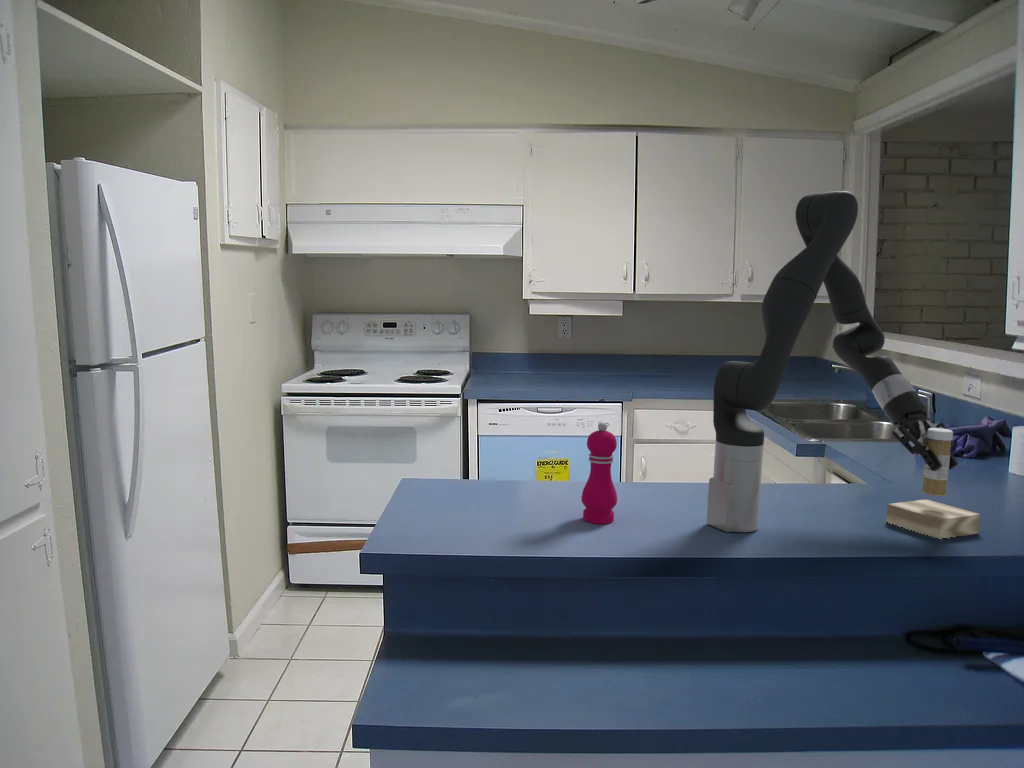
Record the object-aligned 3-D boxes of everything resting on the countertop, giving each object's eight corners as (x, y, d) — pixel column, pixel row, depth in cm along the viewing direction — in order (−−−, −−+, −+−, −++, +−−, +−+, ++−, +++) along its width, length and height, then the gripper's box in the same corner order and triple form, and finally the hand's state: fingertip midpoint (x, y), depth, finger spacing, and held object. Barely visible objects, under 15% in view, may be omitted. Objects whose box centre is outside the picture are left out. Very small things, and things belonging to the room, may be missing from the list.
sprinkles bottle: (916, 490, 160) (922, 427, 158) (937, 490, 160) (943, 427, 159) (930, 496, 155) (937, 431, 154) (951, 496, 156) (958, 431, 154)
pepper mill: (574, 516, 159) (578, 420, 156) (605, 513, 161) (610, 419, 159) (590, 526, 152) (594, 426, 150) (622, 523, 155) (627, 425, 152)
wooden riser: (938, 539, 150) (940, 519, 150) (886, 522, 161) (887, 504, 161) (978, 533, 156) (980, 514, 155) (924, 517, 166) (926, 499, 166)
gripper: (887, 390, 159) (935, 460, 149) (933, 388, 165) (983, 455, 156) (863, 411, 164) (909, 480, 155) (909, 409, 170) (955, 475, 161)
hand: (945, 467), depth 155 cm, fingers closed on sprinkles bottle, 4 cm apart
